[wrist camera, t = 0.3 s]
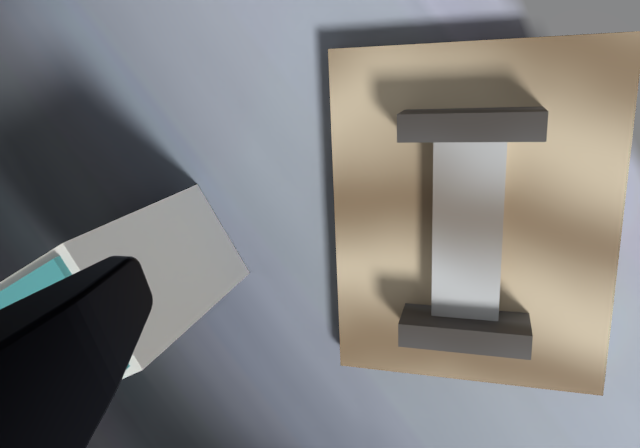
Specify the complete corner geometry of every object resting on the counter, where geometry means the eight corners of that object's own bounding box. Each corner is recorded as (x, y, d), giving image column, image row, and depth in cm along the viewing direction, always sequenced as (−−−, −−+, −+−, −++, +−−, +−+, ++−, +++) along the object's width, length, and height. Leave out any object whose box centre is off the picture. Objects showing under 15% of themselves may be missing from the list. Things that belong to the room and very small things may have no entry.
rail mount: (597, 379, 23) (613, 426, 20) (347, 352, 26) (329, 389, 23) (635, 32, 19) (661, 28, 16) (336, 49, 22) (312, 48, 20)
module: (249, 273, 27) (137, 374, 18) (149, 322, 29) (11, 431, 21) (197, 184, 26) (56, 245, 18) (99, 243, 29) (-64, 321, 20)
